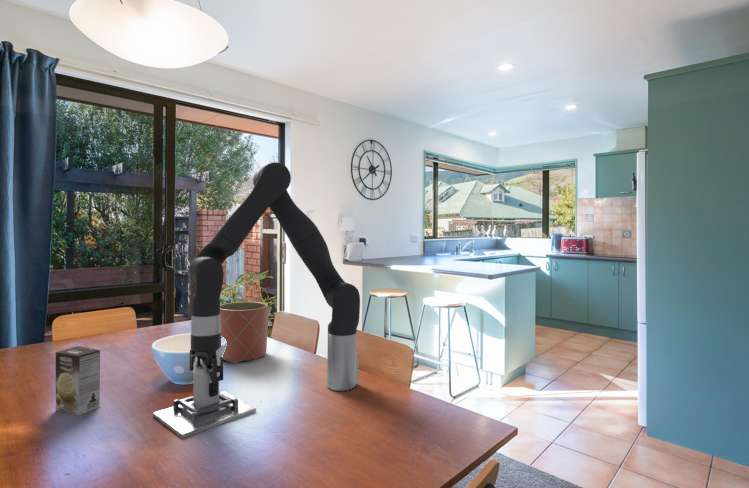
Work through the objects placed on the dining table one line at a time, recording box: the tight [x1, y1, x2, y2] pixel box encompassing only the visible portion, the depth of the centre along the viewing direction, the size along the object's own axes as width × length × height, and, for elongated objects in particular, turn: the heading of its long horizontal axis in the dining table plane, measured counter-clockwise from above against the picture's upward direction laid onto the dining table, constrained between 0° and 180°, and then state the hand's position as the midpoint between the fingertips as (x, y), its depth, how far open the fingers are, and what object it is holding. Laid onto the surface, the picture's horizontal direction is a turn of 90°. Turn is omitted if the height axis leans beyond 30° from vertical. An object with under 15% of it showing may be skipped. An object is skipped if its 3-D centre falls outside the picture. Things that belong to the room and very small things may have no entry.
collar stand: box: [153, 390, 257, 439], centre depth 110 cm, size 20×17×4 cm
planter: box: [220, 301, 269, 364], centre depth 161 cm, size 19×19×20 cm
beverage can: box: [192, 365, 220, 414], centre depth 110 cm, size 6×6×12 cm
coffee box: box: [55, 345, 101, 417], centre depth 112 cm, size 9×6×16 cm
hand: (205, 391), depth 110 cm, fingers open, 8 cm apart
